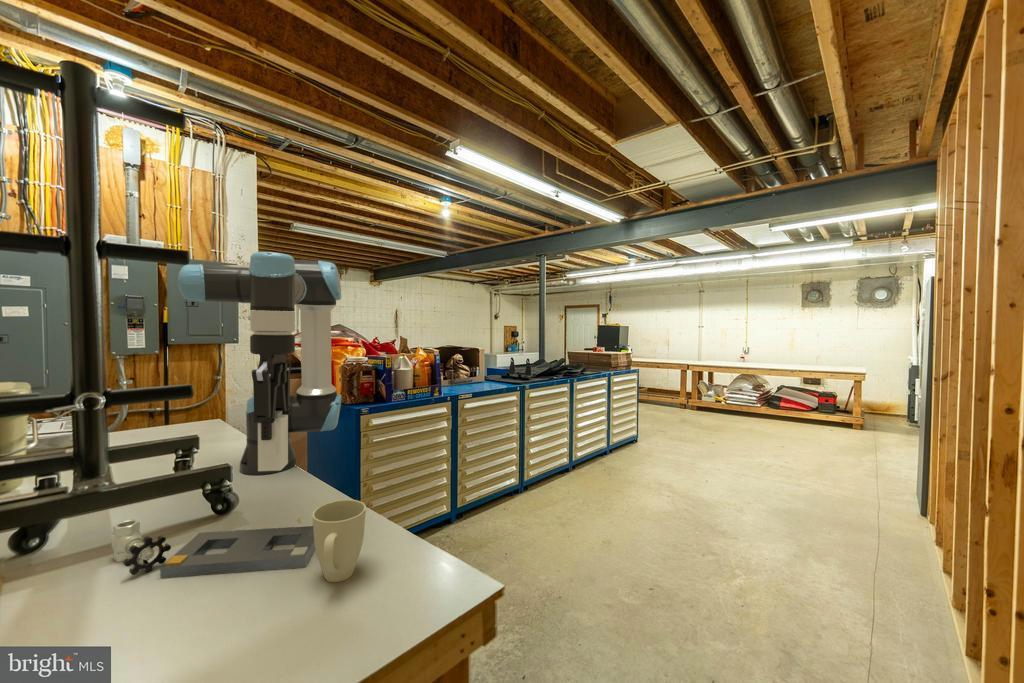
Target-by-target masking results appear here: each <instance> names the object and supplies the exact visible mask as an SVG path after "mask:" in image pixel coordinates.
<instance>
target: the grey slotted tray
mask: <svg viewBox="0 0 1024 683" xmlns="http://www.w3.org/2000/svg"><path fill="white" fill-rule="evenodd" d="M281 545H282V546H283V545H294V546H293V548H287V549H285V548H284V549H272V548H273V546H281ZM223 549H227V550H226V551H225V552H223V553H212V554H205V553H207V551H208V550H223ZM271 549H272V550H271ZM315 551H316V550H315V543H314V530H313V525H309V526H307V525H306V526H292V527H290V526H289V527H275V528H258V529H257V528H256V529H255V528H253V529H241V530H222V531H208V532H207V531H205V532H199V533H198V534H196V535H194V537H193V538H192V539H191V540H190V541H188V542H187V543H186V544H185V545H184V546H182V547H181V549H179V550H178V551H177V552H176V553H175V554H174V555H172V556H171V557H170V558H168V560H167V561H165V562H164V563H162V564H161V566H160V567H159V570H160V571H159V572H160V573H159V575H160V576H159V577H160V579H166V578H168V579H169V578H181V577H194V576H209V575H220V574H223V575H224V574H232V573H235V574H237V573H246V572H247V573H249V572H261V571H273V570H286V569H287V570H288V569H299V568H300V569H301V568H306V567H307V565H308V563H309V561H310V560H311V558H312V556H313V554H314V553H315Z"/></svg>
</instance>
